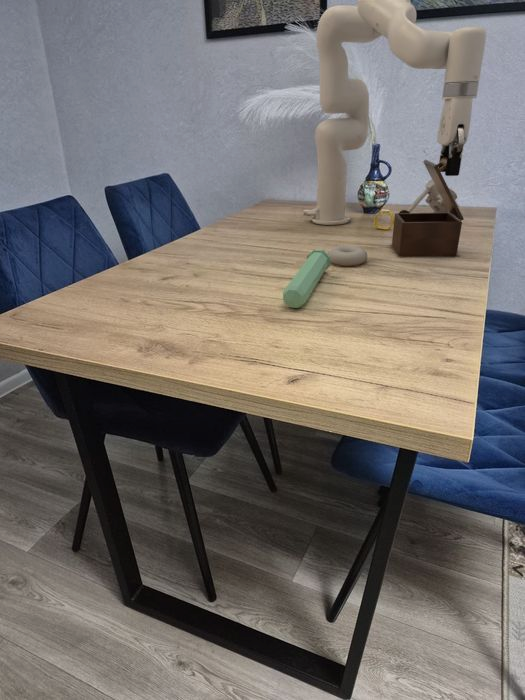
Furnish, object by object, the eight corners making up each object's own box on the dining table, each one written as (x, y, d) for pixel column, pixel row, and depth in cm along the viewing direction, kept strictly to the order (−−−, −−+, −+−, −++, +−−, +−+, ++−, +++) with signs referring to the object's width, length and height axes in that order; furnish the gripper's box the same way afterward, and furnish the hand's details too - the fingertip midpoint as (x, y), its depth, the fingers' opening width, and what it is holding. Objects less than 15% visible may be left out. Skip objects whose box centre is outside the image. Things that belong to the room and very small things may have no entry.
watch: (372, 229, 150) (374, 210, 147) (375, 227, 152) (376, 208, 149) (391, 230, 147) (393, 211, 144) (393, 228, 149) (395, 209, 146)
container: (299, 281, 90) (325, 245, 111) (272, 290, 93) (303, 253, 114) (311, 309, 92) (334, 268, 113) (284, 317, 95) (312, 275, 115)
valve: (409, 245, 166) (387, 215, 159) (447, 203, 165) (427, 170, 158) (428, 250, 157) (406, 218, 150) (468, 205, 157) (448, 171, 149)
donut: (352, 270, 114) (374, 260, 121) (353, 257, 113) (375, 247, 119) (319, 263, 121) (341, 253, 127) (319, 250, 119) (342, 241, 125)
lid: (433, 166, 112) (452, 154, 110) (422, 161, 122) (440, 149, 121) (461, 221, 117) (479, 210, 116) (448, 211, 128) (465, 201, 126)
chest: (398, 256, 123) (402, 222, 119) (391, 245, 133) (394, 213, 129) (456, 256, 121) (462, 222, 117) (444, 244, 132) (449, 212, 128)
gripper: (434, 92, 117) (425, 169, 126) (453, 91, 102) (441, 179, 111) (465, 91, 117) (454, 168, 125) (489, 90, 101) (474, 178, 110)
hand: (448, 172), depth 118 cm, fingers closed on lid, 6 cm apart
